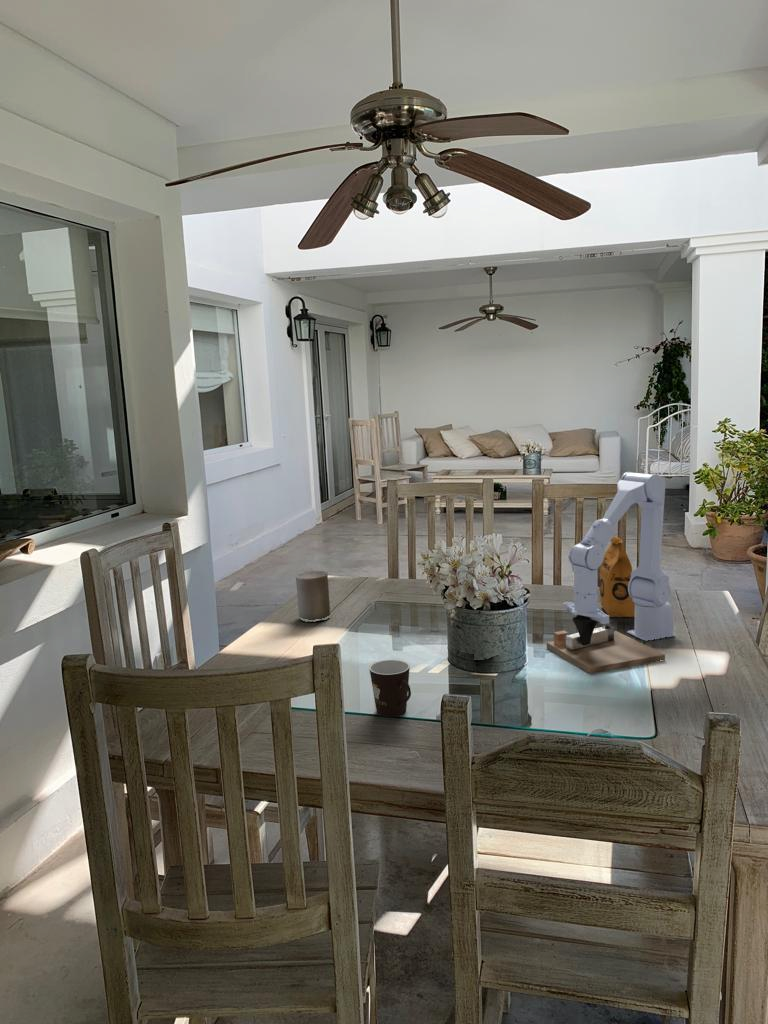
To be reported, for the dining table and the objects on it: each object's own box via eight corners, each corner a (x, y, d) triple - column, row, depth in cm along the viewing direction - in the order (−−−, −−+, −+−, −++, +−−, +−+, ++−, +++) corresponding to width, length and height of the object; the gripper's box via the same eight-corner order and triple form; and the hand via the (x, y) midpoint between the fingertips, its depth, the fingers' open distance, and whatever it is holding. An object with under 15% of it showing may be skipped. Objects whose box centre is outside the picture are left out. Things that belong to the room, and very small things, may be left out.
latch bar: (607, 635, 206) (607, 620, 205) (616, 639, 203) (617, 623, 202) (564, 646, 199) (564, 630, 198) (573, 650, 196) (573, 634, 195)
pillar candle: (337, 615, 240) (333, 567, 238) (317, 624, 232) (314, 575, 229) (311, 612, 245) (308, 565, 243) (291, 620, 237) (288, 572, 235)
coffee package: (602, 618, 226) (603, 543, 222) (597, 606, 238) (597, 534, 234) (638, 618, 224) (639, 543, 221) (631, 606, 236) (632, 534, 233)
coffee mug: (370, 704, 173) (368, 661, 172) (409, 701, 174) (407, 658, 172) (373, 727, 162) (371, 681, 160) (415, 724, 163) (413, 678, 161)
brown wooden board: (616, 636, 210) (616, 620, 209) (664, 660, 191) (665, 642, 191) (546, 647, 204) (546, 631, 203) (590, 673, 185) (590, 655, 184)
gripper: (554, 588, 200) (554, 639, 202) (593, 601, 187) (593, 655, 189) (575, 584, 203) (575, 634, 205) (616, 596, 190) (615, 650, 192)
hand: (585, 644), depth 197 cm, fingers closed
